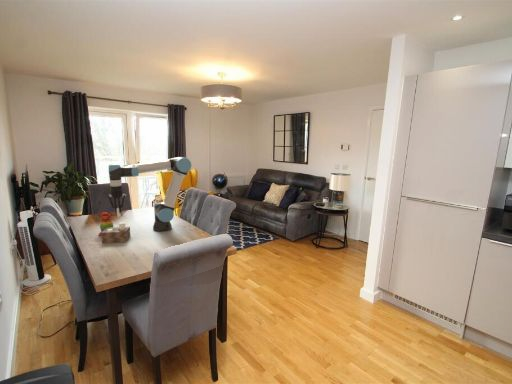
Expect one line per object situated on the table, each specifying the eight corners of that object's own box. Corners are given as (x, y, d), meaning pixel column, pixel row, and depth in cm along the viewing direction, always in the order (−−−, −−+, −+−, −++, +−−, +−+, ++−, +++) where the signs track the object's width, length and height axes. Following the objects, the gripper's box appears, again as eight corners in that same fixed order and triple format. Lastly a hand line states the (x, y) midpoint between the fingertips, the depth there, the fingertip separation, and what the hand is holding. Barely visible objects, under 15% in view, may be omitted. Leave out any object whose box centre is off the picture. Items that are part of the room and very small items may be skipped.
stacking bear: (97, 236, 205) (95, 214, 202) (101, 232, 215) (99, 211, 212) (113, 235, 208) (111, 213, 205) (116, 231, 218) (114, 210, 215)
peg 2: (126, 232, 201) (125, 222, 200) (124, 233, 197) (124, 223, 196) (120, 232, 200) (120, 222, 199) (119, 233, 196) (118, 224, 195)
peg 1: (114, 238, 200) (113, 228, 199) (112, 240, 196) (111, 230, 195) (108, 238, 200) (107, 229, 198) (106, 240, 196) (105, 230, 194)
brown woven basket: (130, 236, 206) (129, 226, 205) (125, 242, 194) (124, 231, 193) (108, 237, 203) (107, 227, 202) (102, 243, 192) (101, 232, 190)
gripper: (127, 184, 197) (129, 215, 201) (108, 185, 195) (111, 215, 199) (123, 186, 190) (126, 217, 194) (104, 186, 188) (107, 218, 192)
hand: (119, 216), depth 197 cm, fingers closed
